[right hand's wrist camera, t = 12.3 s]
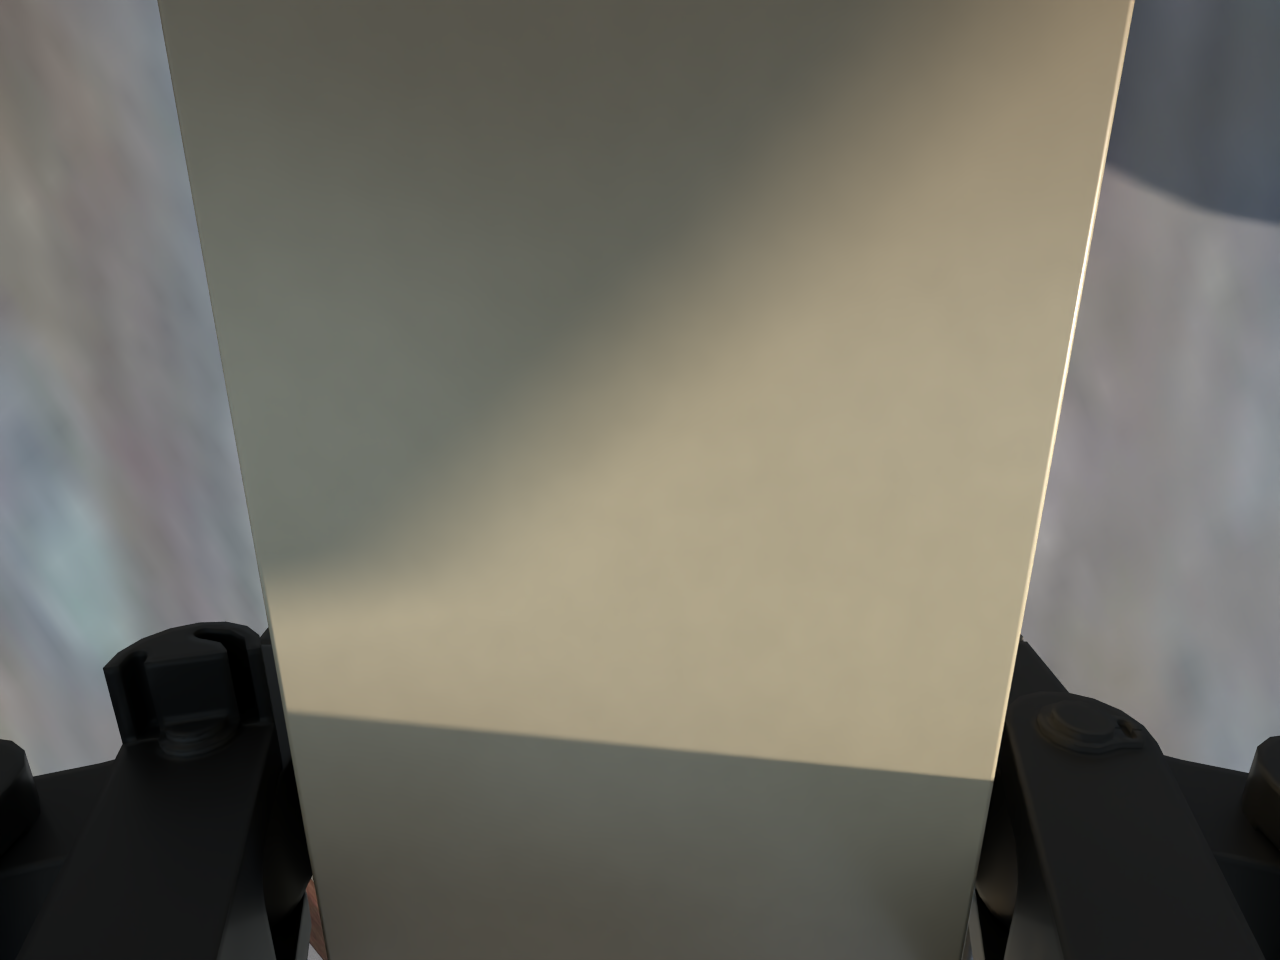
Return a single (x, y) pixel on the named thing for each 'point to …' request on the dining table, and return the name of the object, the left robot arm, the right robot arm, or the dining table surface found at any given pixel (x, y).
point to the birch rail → (645, 445)
